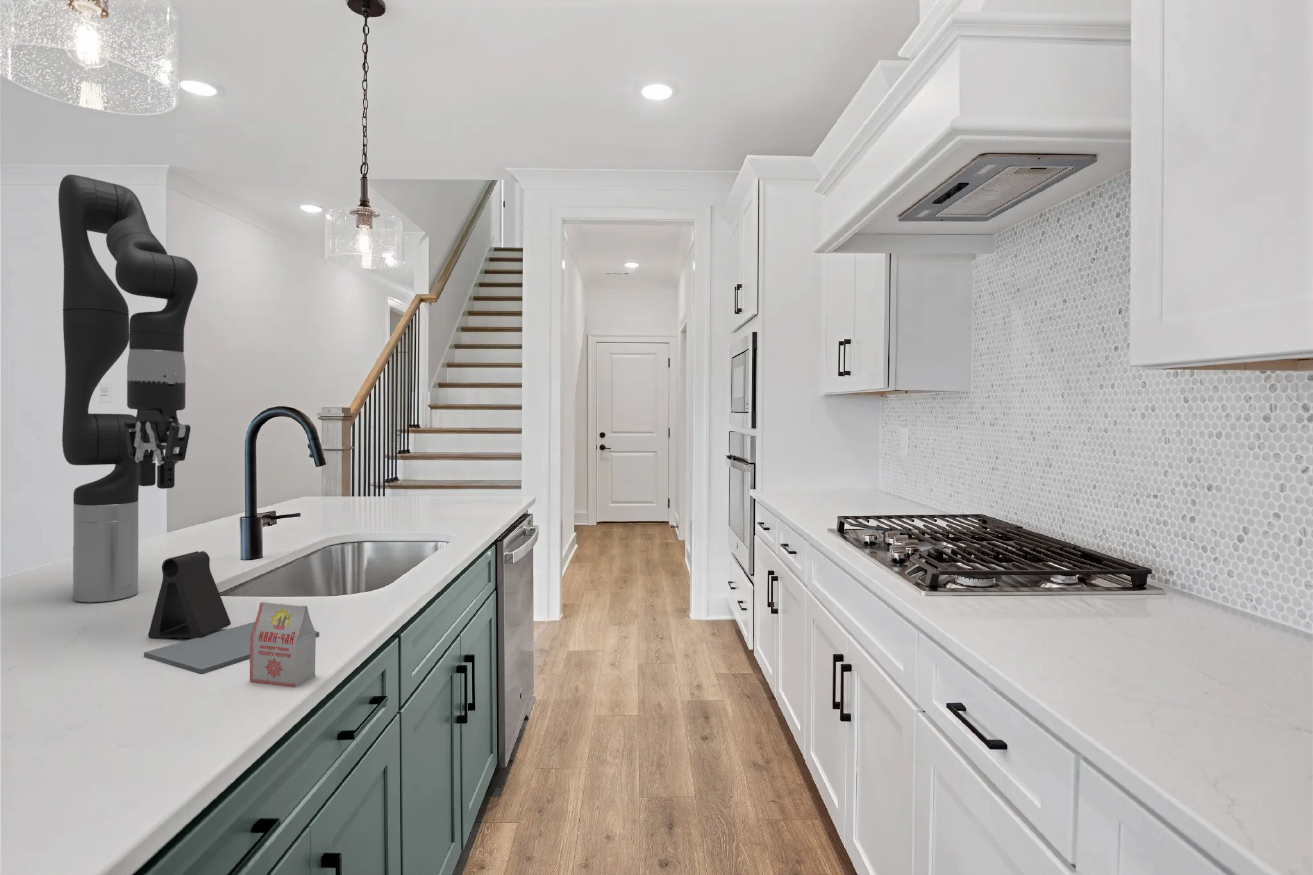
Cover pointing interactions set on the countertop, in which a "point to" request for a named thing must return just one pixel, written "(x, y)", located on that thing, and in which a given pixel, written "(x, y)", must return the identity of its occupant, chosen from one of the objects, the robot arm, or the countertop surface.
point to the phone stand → (188, 599)
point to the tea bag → (282, 645)
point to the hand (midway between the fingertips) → (156, 486)
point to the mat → (208, 650)
